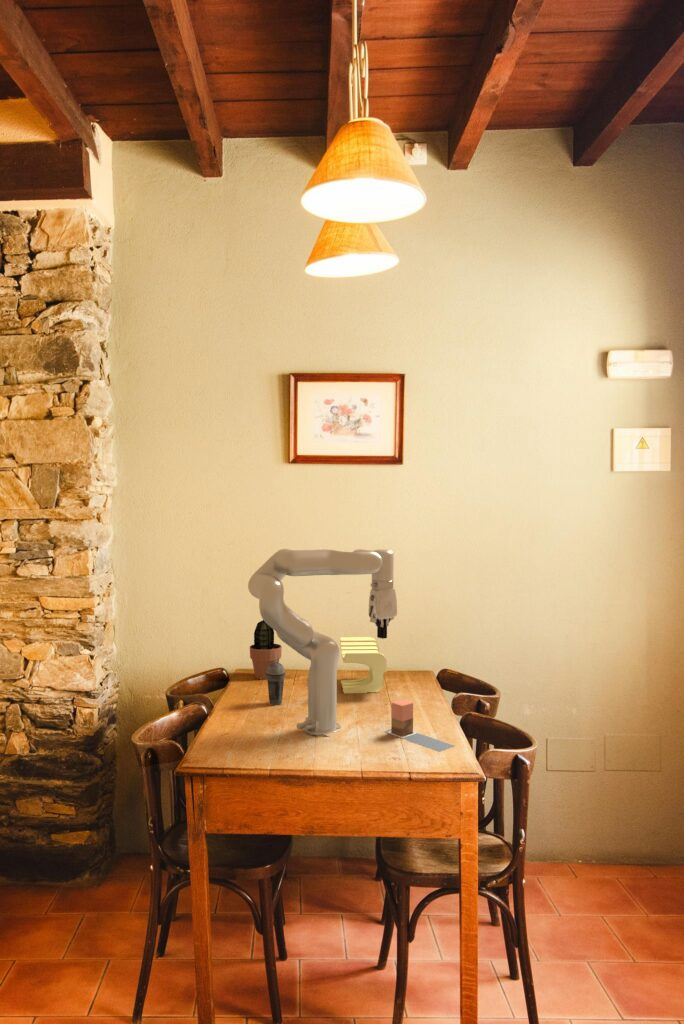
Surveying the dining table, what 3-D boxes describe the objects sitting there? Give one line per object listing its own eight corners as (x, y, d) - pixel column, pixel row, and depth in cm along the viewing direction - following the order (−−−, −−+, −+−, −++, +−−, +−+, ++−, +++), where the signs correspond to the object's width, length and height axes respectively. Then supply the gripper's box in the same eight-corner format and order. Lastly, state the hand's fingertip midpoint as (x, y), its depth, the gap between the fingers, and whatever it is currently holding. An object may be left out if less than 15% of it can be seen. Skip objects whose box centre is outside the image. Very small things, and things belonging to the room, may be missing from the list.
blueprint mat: (439, 755, 218) (439, 751, 218) (383, 734, 236) (383, 731, 236) (455, 749, 223) (455, 745, 223) (399, 729, 241) (399, 726, 241)
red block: (402, 721, 231) (402, 705, 231) (391, 717, 235) (391, 702, 235) (413, 718, 234) (413, 702, 234) (401, 714, 238) (402, 699, 238)
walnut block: (402, 736, 231) (402, 721, 231) (391, 732, 235) (391, 717, 235) (413, 733, 234) (413, 718, 234) (401, 729, 238) (401, 714, 238)
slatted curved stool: (386, 698, 276) (386, 652, 276) (345, 699, 275) (345, 653, 275) (377, 678, 306) (377, 636, 306) (339, 678, 305) (340, 637, 305)
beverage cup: (285, 700, 273) (285, 648, 272) (285, 706, 266) (285, 653, 265) (266, 700, 273) (266, 648, 272) (265, 706, 265) (265, 653, 265)
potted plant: (287, 675, 310) (288, 618, 309) (268, 682, 298) (268, 623, 298) (263, 671, 317) (263, 615, 316) (243, 678, 306) (243, 619, 305)
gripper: (374, 588, 241) (374, 642, 241) (405, 584, 251) (404, 636, 251) (359, 585, 246) (359, 639, 247) (389, 582, 257) (389, 633, 257)
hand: (382, 637), depth 249 cm, fingers closed
